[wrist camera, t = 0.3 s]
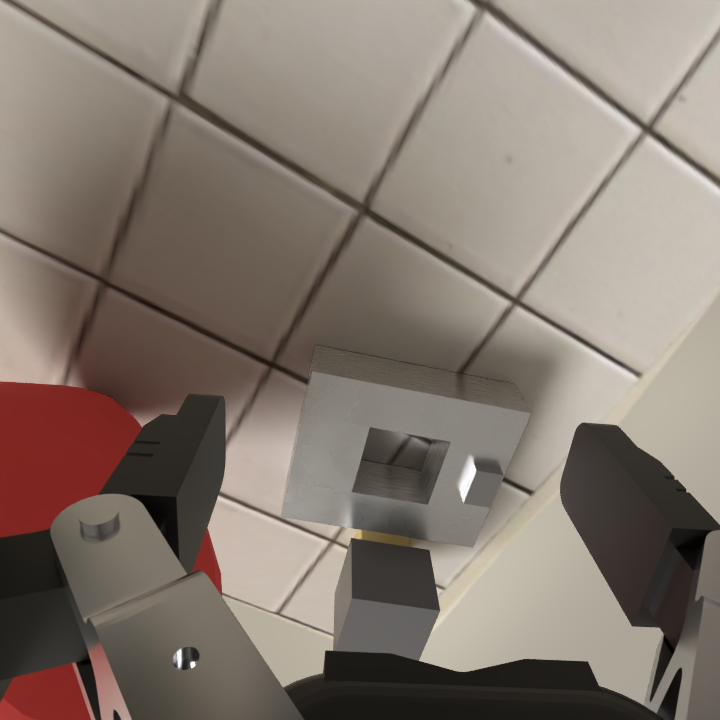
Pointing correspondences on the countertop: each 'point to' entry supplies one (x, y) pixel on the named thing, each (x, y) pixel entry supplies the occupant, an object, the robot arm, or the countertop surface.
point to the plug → (385, 597)
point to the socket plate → (410, 416)
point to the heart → (60, 501)
